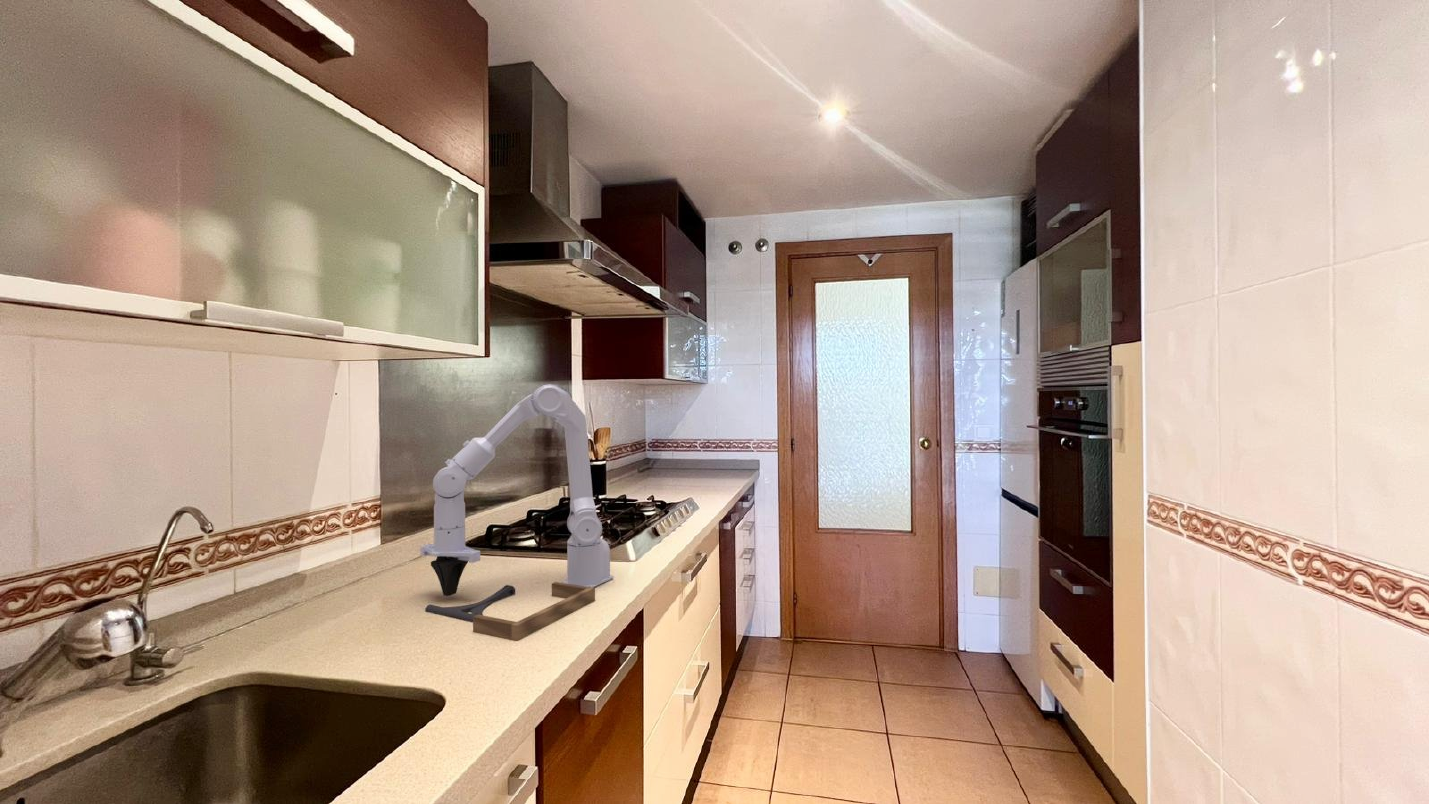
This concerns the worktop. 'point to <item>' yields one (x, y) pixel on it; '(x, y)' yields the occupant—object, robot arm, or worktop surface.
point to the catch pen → (534, 622)
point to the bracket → (471, 606)
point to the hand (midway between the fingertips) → (449, 594)
